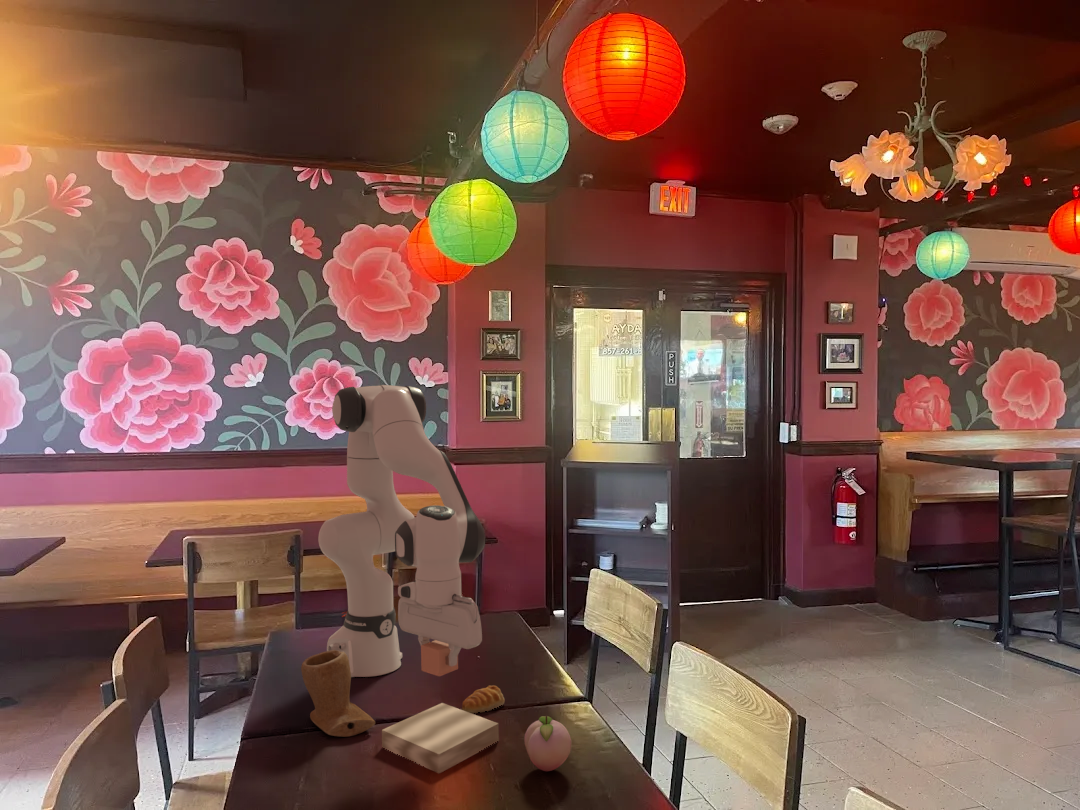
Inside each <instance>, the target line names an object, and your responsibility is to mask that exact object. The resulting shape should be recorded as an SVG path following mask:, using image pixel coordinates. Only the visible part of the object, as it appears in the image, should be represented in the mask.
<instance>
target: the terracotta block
mask: <svg viewBox="0 0 1080 810" xmlns="http://www.w3.org/2000/svg"><path fill="white" fill-rule="evenodd" d="M450 651H451V649H449V644H447V643H444V642H440V641H437V640H432V641H430V642H429V643H426V644H423V645H420V658H421V659H420V660H421V663H420V664H421V666H420V667H421V672H424V673H428V674H431V675H433V676H436V677H442V676H444V675H446V674H447V675H448V674H449V673H451V672H454V671H456V670H458V669H459V654H458V655H457V664H456V665H455V666H448V665H446V663H445V662H446V660H445V656H448V655H449V654H450Z"/></svg>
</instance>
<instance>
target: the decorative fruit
mask: <svg viewBox="0 0 1080 810" xmlns="http://www.w3.org/2000/svg"><path fill="white" fill-rule="evenodd" d="M524 745H525V749H526V752H527V755H528V757H529V759H530V761H531V763H532V764H533V766H535V767H536V768H537V769H538V770H541V771H542V772H546V773H547V772H552V771H554V770H556V769H558V768H559V767H561V766H562V765H563V764H564V763H565V762H566V760H567V759H568V757H569V756H570V753H571V750H572V739H571V735H570V733H569V731H568V729H567V728H566V727H565V726H564V724H562V723H561V722H559V721H557V720H554V719H553V718H552V717H550V716H548V715H545V716H540V717H539V718H538V720H535V721H534V722H532V723H531V724H530V725H529V726H528V728H527V729H526V731H525V733H524Z"/></svg>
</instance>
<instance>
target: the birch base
mask: <svg viewBox="0 0 1080 810" xmlns="http://www.w3.org/2000/svg"><path fill="white" fill-rule="evenodd" d="M499 730H500V729H499V722H496V721H493V720H490V719H487V718H485V717H482V716H480V715H476V714H473V713H469V712H466V711H463V710H462V709H461V708H460V709H459V708H457V707H456V706H452V705H449V704H447V703H444V702H441V703H438V704H437V705H434V706H432V707H430V708H427V709H425V710H423V711H421V712H419V713H416V714H415V715H412V716H410V717H407V718H405V719H403V720H401V721H399V722H396V723H394V724H392V725H390V726H387V727H385V728H383V729H382V730H381V742H382V743H381V748H382V747H383V748H385V749H384V750H386V749H387V750H386V751H388V750H389V751H388V752H390V751H391V753H392V752H393V753H392V754H395V755H397V754H398V755H397V756H399V755H400V756H399V757H401V756H402V758H403V757H405V758H404V759H406V758H407V759H406V760H408V759H409V760H408V761H410V760H411V762H412V761H414V762H413V763H415V762H416V763H415V764H417V765H419V764H420V765H419V766H421V767H423V766H424V768H426V769H428V770H430V771H433V772H434V773H436V774H442V773H443V772H444V771H446V770H449V769H450V768H452V767H455V766H456V765H457V764H460V763H461V762H463V761H465V760H467V759H469V758H470V757H473V756H474V755H476V754H478V753H479V751H480V752H482V751H483V750H485V749H487V748H489V747H491V746H493V745H494V744H496V743H498V742H499V741H500V737H499V736H500V735H499ZM497 741H498V742H497ZM495 742H496V743H495ZM493 743H494V744H493ZM492 744H493V745H492ZM490 745H491V746H490ZM488 746H489V747H488ZM486 747H487V748H486ZM383 748H382V749H383ZM484 748H485V749H484ZM481 750H482V751H481Z"/></svg>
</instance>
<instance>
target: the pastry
mask: <svg viewBox="0 0 1080 810" xmlns="http://www.w3.org/2000/svg"><path fill="white" fill-rule="evenodd" d="M461 703H462V704H461V710H463V711H466V712H469V713H471V714H474V713H475V714H478V712H480V713H486V712H485V711H487V712H489V711H493V710H495V709H494V708H496V709H498V708H500V707H499V706H501V705H502V706H503V705H505V697H504V694H503V693H502V691H501V688H499V687H498V686H497V685H494V684H493V685H488V686H487V687H482V688H480V689H476V690H474V691H473V693H472V694H470V695H469V696H467V697H466V698H465V699H464V700H463V701H462V702H461ZM502 706H501V707H502ZM497 707H498V708H497ZM492 709H493V710H492ZM475 714H474V715H475Z"/></svg>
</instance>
